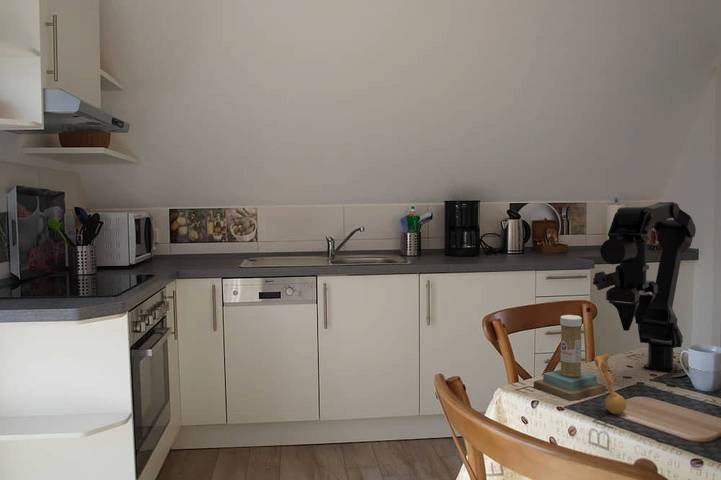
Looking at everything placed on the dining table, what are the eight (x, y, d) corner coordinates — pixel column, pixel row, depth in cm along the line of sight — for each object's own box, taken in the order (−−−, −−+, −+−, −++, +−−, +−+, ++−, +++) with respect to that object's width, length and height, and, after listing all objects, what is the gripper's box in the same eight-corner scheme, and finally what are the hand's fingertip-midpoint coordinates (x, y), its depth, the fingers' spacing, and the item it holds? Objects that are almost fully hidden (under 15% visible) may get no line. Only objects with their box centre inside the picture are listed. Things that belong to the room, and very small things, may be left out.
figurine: (623, 421, 114) (624, 360, 113) (590, 416, 117) (591, 357, 116) (628, 408, 121) (628, 351, 121) (597, 404, 124) (597, 348, 124)
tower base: (567, 380, 141) (567, 365, 141) (606, 392, 132) (606, 377, 131) (533, 387, 136) (533, 372, 136) (571, 401, 126) (571, 385, 126)
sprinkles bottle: (556, 374, 134) (556, 316, 133) (568, 371, 137) (568, 313, 136) (573, 379, 130) (573, 319, 129) (585, 375, 133) (586, 316, 132)
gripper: (611, 256, 150) (610, 317, 151) (583, 262, 136) (583, 329, 137) (658, 258, 142) (658, 322, 143) (634, 265, 128) (633, 336, 129)
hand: (632, 327), depth 138 cm, fingers open, 9 cm apart
